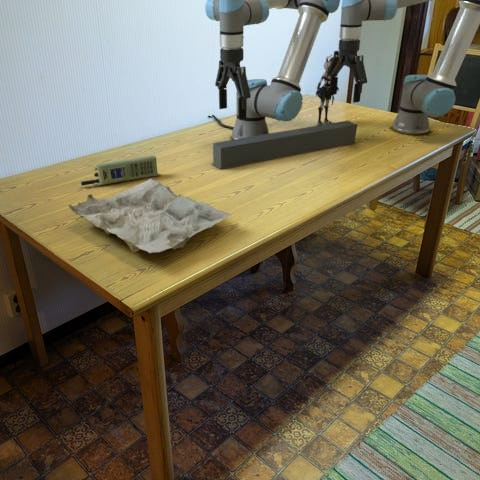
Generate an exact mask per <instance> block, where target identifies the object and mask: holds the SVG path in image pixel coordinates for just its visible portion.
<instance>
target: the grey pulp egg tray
mask: <svg viewBox="0 0 480 480" xmlns="http://www.w3.org/2000/svg"><path fill="white" fill-rule="evenodd" d="M68 208H69V209H70V210H71V211H72V213H74V214H75V215H78V216H79V218H80V219H83V218H85V219H86V220H87V221H89V222H91V223H92V224H93V225H94V226H95V227H96V228H98V229H101V230H103V231H104V232H105V233H106V234H107V235H108V236H110V235H111V234H113V235H116V236H117V237H118V238H120V239H121V240H123V241H124V243H125V244H127V246H128V248H129V249H130V251H131V252H132V253H133V252H134V253H136V252H139V251H141V250H142V251H145V252H147V253H149V254H152V253H162V252H164V251H166V250H169V249H173V250H177V249H178V248H181V249H182V248H184V247H185V245H186V243H187V242H188V241H190V239H191V238H192V237H193V236H194V235H196V234H199V233H200V232H202V231H204V230H206V229H208V228H213V226H215V224H219V222H222V221H223V220H224V219H226V218H229V217H230V216H232V213H227V212H226V211H225V212H224V211H222V210H219V209H216V208H214V207H213V206H212V205H211V204H210V203H205V202H204V201H196V200H194V199H192V198H189V196H184V195H181V194H178V195H177V194H175V193H174V192H173V190H172V189H171V188H170V186H167V185H163V184H162V183H161V182H160V181H159V180H156V179H153V178H149V179H147V180H145V181H143V182H141V183H139V184H136V185H134V186H133V187H130V188H129V189H125V190H123V191H121V192H120V193H117V194H115V195H113V196H111V197H109V198H101V199H99V198H96V197H94V196H93V194H88V195H87V197H86V200H85V201H82V202H80V201H79V202H78V203H77V205H72V204H68Z"/></svg>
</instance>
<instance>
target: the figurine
mask: <svg viewBox="0 0 480 480" xmlns="http://www.w3.org/2000/svg"><path fill="white" fill-rule="evenodd" d="M332 59H333V53H332V54H330V55H328V56H326V57H325V62H324V63H323V69H324V70H325V71H324V72H323V73H322V75H321V77H320V80H319V82H318V83H317V87H316V92H315V97H317V98H319V99H320V104H319V106H318V107H317V109H318V119H317V121H316V122H317V126H318V125H324V124H330V123H332V120H331V121H330V120H329V119H328V113H329V108H330V105H329V104H330V101H331V106H333V104H334V102H335V95H330V88H331V85H330V80H331V77H330V75H328V74H327V71H328V69H329V66H330V64H331V61H332ZM331 71H332V70H331ZM323 81H324V83H323V85H322V82H323ZM321 85H322V86H321ZM338 92H340V88H339V86H338V85H337V93H338ZM323 111H324V121H323V122H322V112H323Z"/></svg>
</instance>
